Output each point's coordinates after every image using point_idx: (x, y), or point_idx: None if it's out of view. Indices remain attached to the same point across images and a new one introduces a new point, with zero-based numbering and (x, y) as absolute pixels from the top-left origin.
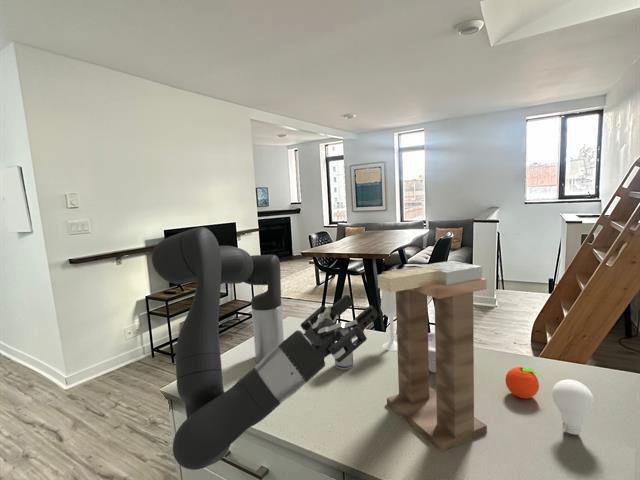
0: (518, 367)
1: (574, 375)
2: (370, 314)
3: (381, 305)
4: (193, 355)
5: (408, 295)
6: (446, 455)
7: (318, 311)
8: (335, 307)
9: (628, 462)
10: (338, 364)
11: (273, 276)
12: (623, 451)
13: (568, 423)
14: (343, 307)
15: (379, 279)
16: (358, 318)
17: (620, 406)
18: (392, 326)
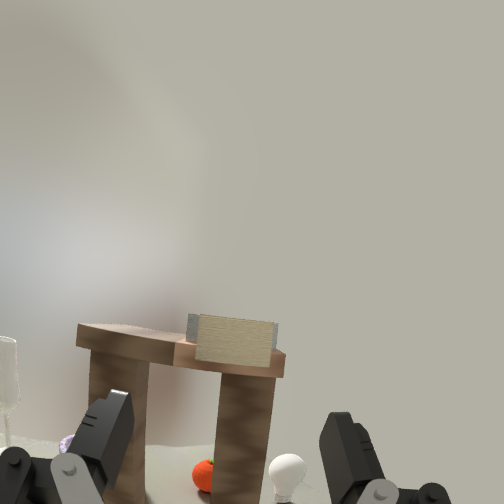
0: (206, 461)
1: (213, 451)
2: (369, 438)
3: None
4: None
5: (133, 383)
6: None
7: (10, 488)
8: (104, 461)
9: (326, 498)
10: None
11: None
12: (314, 493)
13: (287, 494)
14: (119, 451)
15: (209, 329)
16: (369, 470)
17: (266, 464)
18: (8, 426)
